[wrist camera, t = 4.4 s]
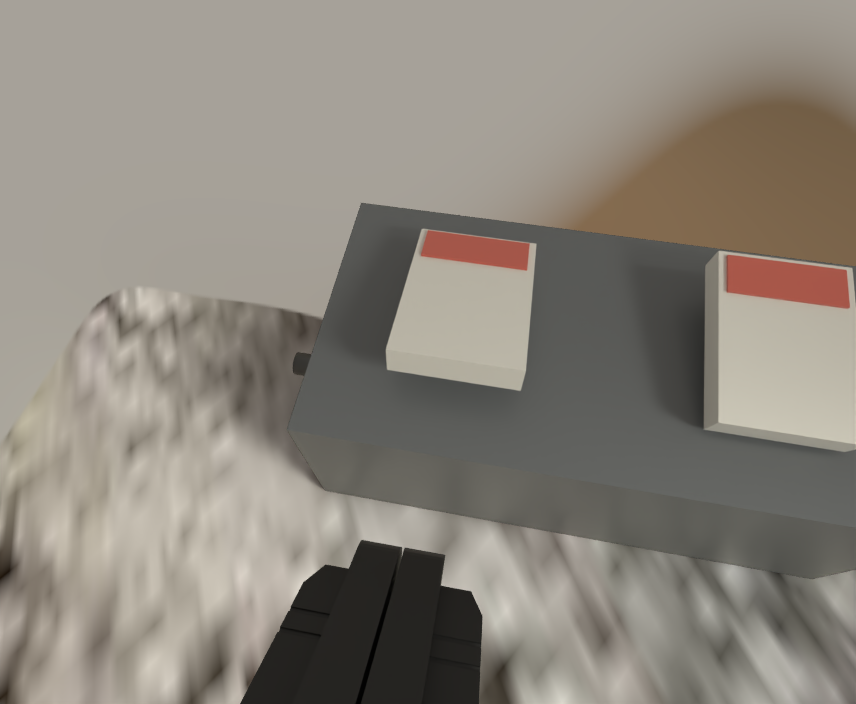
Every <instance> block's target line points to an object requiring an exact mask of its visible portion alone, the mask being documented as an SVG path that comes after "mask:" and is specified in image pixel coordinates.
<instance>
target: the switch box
mask: <svg viewBox="0 0 856 704" xmlns="http://www.w3.org/2000/svg"><path fill="white" fill-rule="evenodd" d="M422 229H429V230H436V231H444V232H452V233H459V234H467V235H474V236H482V237H490V238H497V239H505V240H512V241H520V242H527V243H535V244H536V256H535V268H534V280H533V292H532V304H531V316H530V328H529V340H528V352H527V364H526V373H525V376H524V380H523V384H522V388H521V391H518V390H512V389H506V388H499V387H493V386H487V385H480V384H474V383H468V382H461V381H455V380H449V379H442V378H436V377H430V376H423V375H417V374H411V373H404V372H398V371H392V370H387V362H386V347H387V343H388V340H389V337H390V333H391V330H392V327H393V323H394V320H395V317H396V313H397V310H398V307H399V303H400V300H401V297H402V293H403V290H404V287H405V283H406V280H407V277H408V273H409V270H410V267H411V263H412V260H413V257H414V253H415V250H416V247H417V243H418V240H419V237H420V233H421V230H422ZM718 251H725V252H733V253H741V254H748V255H756V256H764V257H772V258H779V259H787V260H795V261H803V262H810V263H818V264H826V265H834V266H841V267H849V268H852V269H853V280H854V291H855V302H856V266H848V265H840V264H832V263H825V262H817V261H809V260H801V259H794V258H785V257H778V256H770V255H762V254H755V253H746V252H739V251H731V250H724V249H715V248H708V247H700V246H693V245H684V244H677V243H669V242H662V241H653V240H646V239H638V238H630V237H623V236H615V235H607V234H599V233H592V232H584V231H575V230H568V229H560V228H552V227H545V226H537V225H530V224H522V223H514V222H506V221H499V220H491V219H483V218H475V217H467V216H460V215H451V214H444V213H436V212H429V211H421V210H413V209H405V208H397V207H390V206H381V205H373V204H366V203H361V205H360V209H359V211H358V214H357V218H356V221H355V224H354V227H353V230H352V233H351V236H350V239H349V242H348V245H347V248H346V251H345V254H344V257H343V260H342V263H341V266H340V269H339V272H338V276H337V279H336V282H335V285H334V288H333V291H332V294H331V297H330V300H329V303H328V306H327V309H326V312H325V315H324V318H323V321H322V324H321V327H320V330H319V333H318V336H317V339H316V342H315V345H314V348H313V351H312V354H306V353H299V352H298V353H297V354H296V356H295V358H294V362H293V372H294V374H297V375H303V376H304V379H303V382H302V385H301V388H300V391H299V394H298V397H297V400H296V403H295V406H294V409H293V412H292V415H291V418H290V421H289V425H288V428H287V431H288V433H289V434H290V436H291V437H292V439H293V441H294V442H295V444H296V445H297V447H298V449H299V450H300V452H301V453H302V455H303V456H304V458H305V460H306V461H307V463H308V464H309V466H310V468H311V469H312V471H313V472H314V474H315V475H316V477H317V479H318V480H319V482H320V483H321V485H322V487H323V488H324V490H325V491H330V492H336V493H341V494H347V495H352V496H358V497H363V498H369V499H374V500H380V501H385V502H391V503H396V504H402V505H407V506H413V507H418V508H424V509H429V510H435V511H440V512H446V513H451V514H457V515H462V516H468V517H473V518H479V519H484V520H490V521H495V522H501V523H506V524H512V525H517V526H523V527H528V528H534V529H539V530H545V531H550V532H556V533H561V534H567V535H572V536H578V537H583V538H589V539H594V540H600V541H605V542H611V543H616V544H622V545H627V546H633V547H638V548H644V549H649V550H655V551H660V552H666V553H671V554H677V555H682V556H688V557H693V558H699V559H704V560H710V561H715V562H721V563H726V564H732V565H737V566H743V567H748V568H754V569H759V570H765V571H770V572H776V573H781V574H787V575H792V576H798V577H803V578H809V579H815V578H819V577H824V576H828V575H833V574H837V573H842V572H847V571H851V570H856V449H855V450H851V451H847V452H841V451H835V450H829V449H823V448H816V447H810V446H804V445H798V444H791V443H785V442H779V441H772V440H766V439H760V438H754V437H747V436H741V435H735V434H729V433H722V432H716V431H710V430H704V350H705V265H706V264H707V263H708V262H709V261H710V260H711V259H712V257H713V256H714V255H715V254H716V253H717V252H718Z"/></svg>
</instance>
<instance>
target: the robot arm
mask: <svg viewBox="0 0 856 704" xmlns="http://www.w3.org/2000/svg"><path fill="white" fill-rule="evenodd" d="M401 558H402V559H401ZM444 560H445V555H443V554H437V553H432V552H426V551H421V550H415V549H409V548H405V549H404V552H403V555H402V547H397V546H392V545H386V544H381V543H375V542H370V541H364V540H361V542H360V543H359V546H358V548H357V550H356V553H355V555H354V558H353V560H352V562H351V565H350V567H349V569H347V568H341V567H336V566H331V565H324V566H323V567H322V568H321V569H320V570H318V571H317V572H316V573H315V574H313V575H312V576H311V577H310V578H308V579H307V580H306V581H305V582H303V584H302V586H301V588H300V590H299V592H298V594H297V596H296V598H295V600H294V602H293V604H292V605H291V609H290V611H288V613H287V615H286V617H285V619H284V621H283V623H282V625H281V627H280V631H279V632H277V634H276V636H275V638H274V640H273V642H272V644H271V646H270V648H269V650H268V651H267V653H266V655H265V657H264V659H263V661H262V663H261V665H260V667H259V669H258V671H257V673H256V674H255V676H254V678H253V680H252V682H251V684H250V686H249V688H248V690H247V692H246V694H245V696H244V697H243V699H242V701H241V703H240V704H479V684H480V661H481V638H482V614H481V612H480V610H479V608H478V605H477V603H476V601H475V599H474V597H473V595H472V592H471V591H466V590H460V589H455V588H450V587H444V586H441V581H442V574H443V567H444Z"/></svg>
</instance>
